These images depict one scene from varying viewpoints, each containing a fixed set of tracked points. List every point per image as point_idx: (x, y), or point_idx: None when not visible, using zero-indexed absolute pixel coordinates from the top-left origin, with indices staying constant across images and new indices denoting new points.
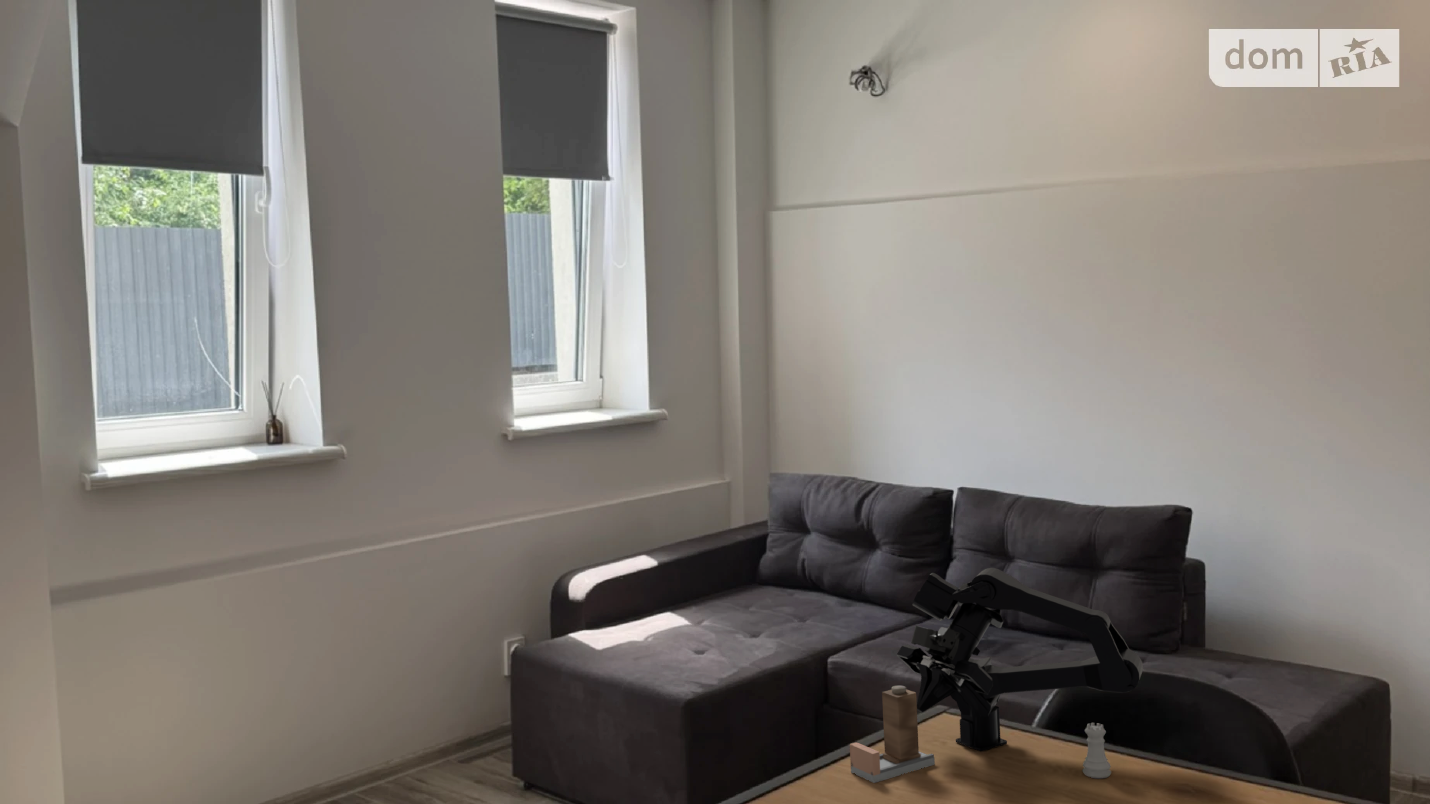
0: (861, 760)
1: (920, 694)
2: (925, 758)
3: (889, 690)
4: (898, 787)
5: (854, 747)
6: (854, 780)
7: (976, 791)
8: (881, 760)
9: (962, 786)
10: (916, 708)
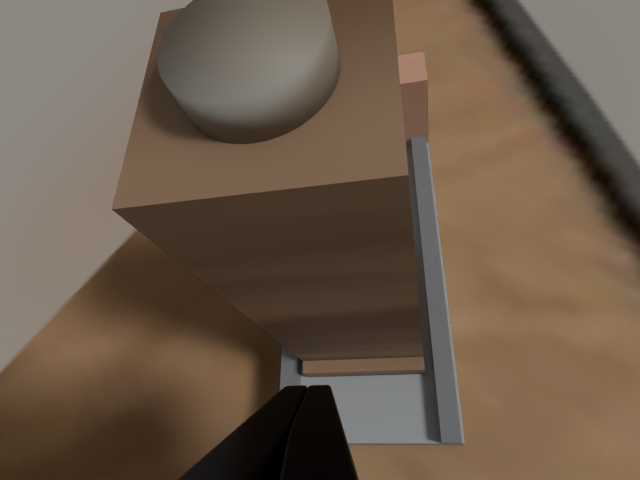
0: None
1: (317, 466)
2: (281, 383)
3: (384, 31)
4: None
5: None
6: None
7: (15, 375)
8: None
9: (73, 368)
10: (199, 275)
